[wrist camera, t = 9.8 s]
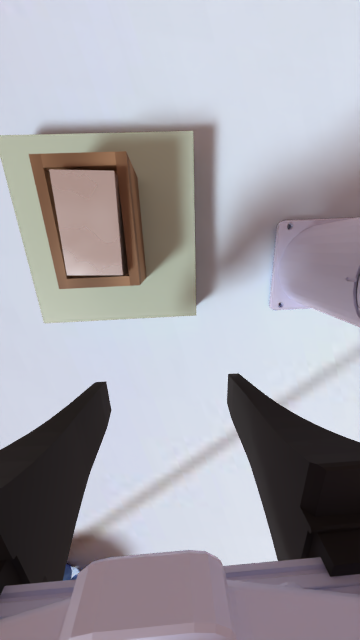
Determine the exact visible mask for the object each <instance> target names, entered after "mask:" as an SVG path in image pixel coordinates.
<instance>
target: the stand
mask: <svg viewBox="0 0 360 640" xmlns="http://www.w3.org/2000/svg"><path fill="white" fill-rule="evenodd" d="M118 151H126V152H127V154H128V157H129V159H130V161H131V164H132V166H133V168H134V170H135V173H136V175H137V177H138V188H139V199H140V210H141V221H142V232H143V243H144V254H145V265H146V276H147V278H146V279H145V280H144V281H143V282H142V283H141V285H136V286H115V287H95V288H74V289H59V286H58V282H57V278H56V273H55V269H54V264H53V260H52V256H51V251H50V247H49V242H48V238H47V233H46V229H45V225H44V220H43V216H42V211H41V207H40V203H39V198H38V194H37V189H36V185H35V181H34V176H33V172H32V167H31V163H30V159H29V154H46V153H82V152H118ZM0 157H1V161H2V165H3V168H4V172H5V176H6V180H7V184H8V188H9V191H10V195H11V199H12V203H13V207H14V210H15V214H16V218H17V222H18V226H19V229H20V233H21V237H22V241H23V245H24V248H25V252H26V256H27V260H28V264H29V267H30V271H31V275H32V279H33V283H34V286H35V290H36V294H37V298H38V302H39V306H40V309H41V313H42V317H43V321H44V323H60V322H79V321H98V320H117V319H136V318H155V317H174V316H193V315H196V273H195V211H194V149H193V131H165V132H123V133H82V134H40V135H0Z"/></svg>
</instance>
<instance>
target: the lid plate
mask: <svg viewBox="0 0 360 640" xmlns="http://www.w3.org/2000/svg"><path fill="white" fill-rule="evenodd" d="M49 172H50V178H51V184H52V190H53V196H54V202H55V208H56V214H57V220H58V226H59V232H60V237H61V243H62V249H63V255H64V261H65V267H66V273H67V275H124V274H126V273H128V269H127V256H126V245H125V236H124V228H123V219H122V211H121V202H120V194H119V185H118V176H117V174H116V173H115V171H105V170H54V169H49Z"/></svg>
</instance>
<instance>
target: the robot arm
mask: <svg viewBox="0 0 360 640" xmlns="http://www.w3.org/2000/svg"><path fill="white" fill-rule="evenodd" d="M288 224H290V226H291V227H290V229H289V230H288V229H287V225H288ZM279 303H281V306H279V307H278V304H279ZM269 307H270V308H271V309H273V310H287V309H307V308H313V309H315V310H318V311H320V312H323V313H325V314H328V315H330V316H333V317H335V318H338V319H340V320H343V321H345V322H348V323H350V324H353V325H355V326H358V327H360V217H359V218H335V219H309V220H285V221H281V222H279V223H278V225H277V230H276V240H275V251H274V261H273V271H272V281H271V291H270V301H269ZM227 404H228V408H229V411H230V415H231V418H232V421H233V423H234V426H235V428H236V431H237V433H238V435H239V438H240V440H241V443H242V445H243V447H244V450H245V452H246V455H247V457H248V460H249V462H250V465H251V468H252V471H253V475H254V478H255V481H256V484H257V488H258V491H259V494H260V498H261V501H262V504H263V508H264V511H265V515H266V518H267V522H268V525H269V529H270V533H271V536H272V540H273V544H274V548H275V551H276V555H277V559H278V561H273V562H262V563H251V564H240V565H229V566H223V565H222V563H221V561H220V560H219V559H218V558H217V557H215V556H213V555H211V554H210V553H208V552H206V551H193V550H185V551H174V552H163V553H152V554H140V555H129V556H118V557H108V558H104V559H100V560H96V561H93V562H91V563H90V564H89V565H88V566H86V567H85V568H84V569H83V570H82V571H81V572H79V573H78V576H77V579H76V580H65V581H63V577H64V572H65V568H66V563H67V559H68V554H69V550H70V546H71V542H72V538H73V533H74V529H75V525H76V521H77V517H78V514H79V510H80V506H81V502H82V498H83V495H84V491H85V488H86V484H87V481H88V477H89V474H90V471H91V468H92V466H93V463H94V461H95V458H96V455H97V453H98V450H99V448H100V445H101V442H102V440H103V437H104V434H105V432H106V429H107V426H108V422H109V418H110V413H111V406H110V401H109V395H108V390H107V384H106V382H95V383H94V384H93V385H92V386H90V387H89V388H88V389H87V390H86V391H84V392H83V393H82V394H81V395H80V396H79V397H77V398H76V399H75V400H74V401H73V402H71V403H70V404H69V405H68V406H66V407H65V408H64V409H63V410H61V411H60V412H59V413H57V414H56V415H55V416H54V417H52V418H51V419H49V420H48V421H47V422H45V423H44V424H42V425H41V426H39V427H38V428H36V429H35V430H33V431H32V432H30V433H29V434H27V435H25V436H24V437H22V438H20V439H18V440H17V441H15V442H13V443H12V444H10V445H8V446H7V447H5V448H3V449H1V450H0V640H360V442H357V441H354V440H351V439H348V438H346V437H343V436H341V435H338V434H336V433H333V432H331V431H329V430H326V429H324V428H322V427H320V426H318V425H315V424H313V423H311V422H309V421H307V420H305V419H303V418H302V417H300V416H298V415H296V414H294V413H293V412H291V411H289V410H287V409H286V408H284V407H283V406H281V405H279V404H278V403H276V402H275V401H273V400H272V399H271V398H269V397H268V396H266V395H265V394H264V393H262V392H261V391H260V390H258V389H257V388H256V387H255V386H253V385H252V384H251V383H250V382H248V381H247V380H246V379H245V378H243V377H242V376H241V375H240V374H228V394H227Z"/></svg>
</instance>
